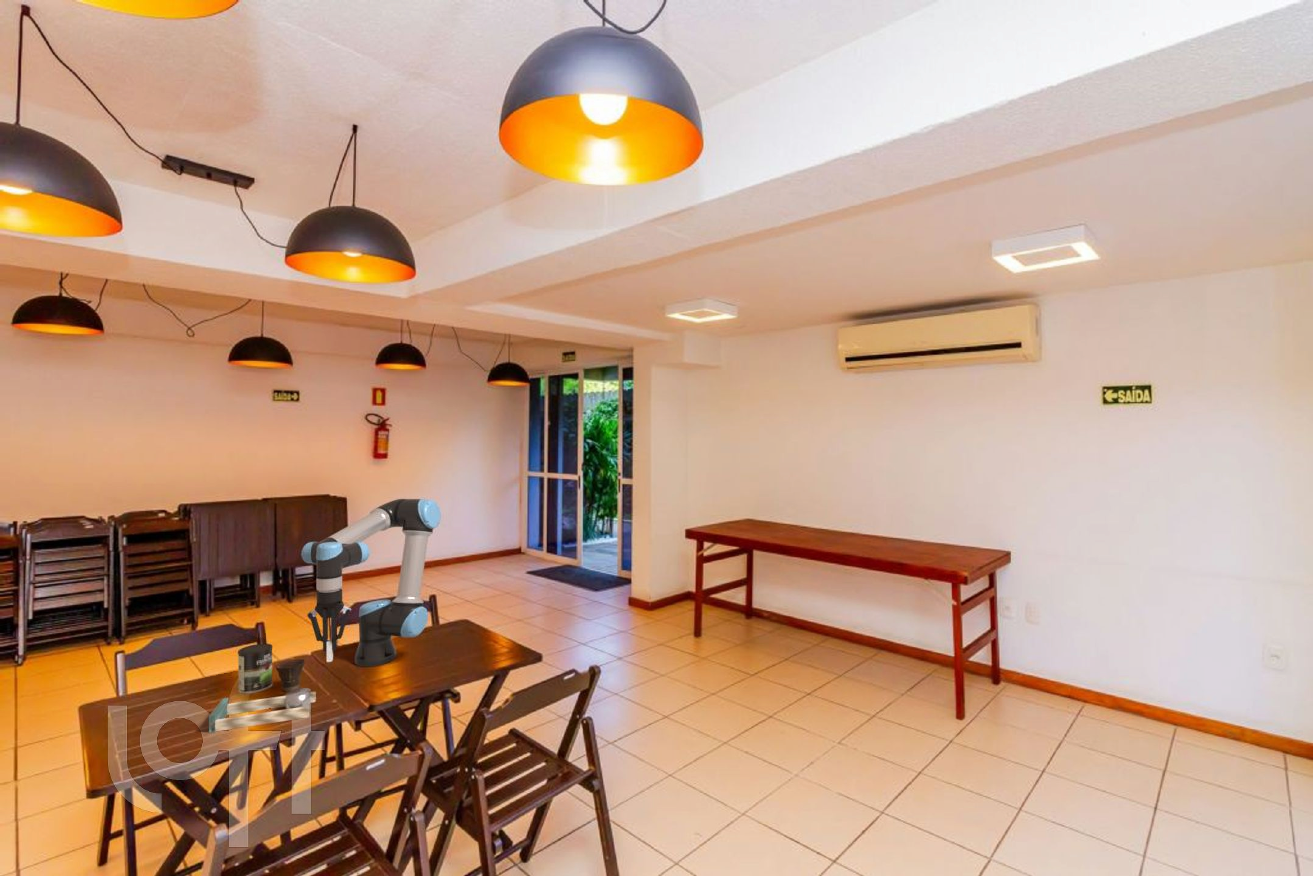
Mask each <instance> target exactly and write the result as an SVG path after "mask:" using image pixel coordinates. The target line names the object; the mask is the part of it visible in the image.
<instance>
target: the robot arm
mask: <svg viewBox="0 0 1313 876" xmlns="http://www.w3.org/2000/svg"><path fill="white" fill-rule="evenodd" d="M441 514H442V513H441V510H440V507H439V504H438V503H437V502H436V501H435V500H432V499H425V498H424V499H423V498H421V499H420V498H397V499H394V500H391V501H388V502H386V503H383V504H382V505H379V506H378V507H375V508H373V509H372V510H371V511H370V513H369V514H368V515H366V516H365V517H362V518H360V519H358V520H357V521H355V522H354V523H352V524H349V525H348V526H346V527H344V528H342V529H340V530H339V531H337V532H335V533H334V534H332V535H329V536H328V537H326V538H324V539H323V540H320V541H310V542H307V543H306V544H305V545H304V546H302V549H301V554H300V555H301V558H302V560H303V561H304V563H307V564H311V565H312V564H313V565H316V566H315V567H316V580H315V581H316V591H317V592H316V605H315V607H314V609H313V610H310V611H309V612H308V613H307V617H308V619H310V622H311V626H312V628H313V632H314V636H315V639H316V641H317V642H321V643H322V651H323V652H324V653H325V652H326V663H331V662H333V660H334V651H336V649H337V646H338V645H337V641H338V640H340V639H342V637H343V635H344V631H345V629H346V623H347V620H348V617H349V615H350V613H351V611H352V608H351V607H347V606H345V603H344V602H343V589H342V588H343V569H345V568H349V567H353V566H356V565H357V566H358V565H361V564H363V563H365V562H366V561H367V560H368V559H369V557H370V548H369V546H368V545H367V544H366V543H365V542H363V541H365V540H367V539H368V538H370V537H371V536H373V535H375V534H376V533H378V532H380V531H381V532H383V531H386V530H388V529H390V528H402V529H401V532H402V533H403V534H404V536H405V537H404V546H403V552H402V560H401V565H400V573H399V581H398V588H397V593H396V594H397V596H396V597H395V598H394V599H393V600H392V601H391V599H390V598H389V599H388V598H387V599H386V598H385V599H378V600H373V601H370V602H366V603H364V604H362V605H361V606H360V607H359V611H358V630H359V631H358V637H359V641H358V646H357V648H356V652H355V655H354V665H356V666H359V667H363V668H364V667H376V666H381V665H385V664H389V663H391V662H393V661H395V659H397V649H396V646H395V644H394V642H393V639H392V637H402V638H404V639H405V638H415V637H417V636H420V634H422V632H423V630H425V628H426V626H427V624H428V623H427V622H428V620H429V613H428V610H427V608H426V607H424V600H422V598H421V593H422V587H423V586H422V585H423V577H424V570H425V563H426V556H427V555H426V554H427V547H428V539H429V536H431V535H432V534H433V531H434V529H435V528H437V527H438V526H439V524H440V522H441V518H442V517H441V516H442V515H441ZM341 612H342V615H343V616H342V619H341V622H340V626H339V627H340V628H339V629H338V631H337V626H338V625H337V624H338V623H337V619H338V616H339V615H340V613H341ZM317 614H318V616H320V618H321V619H322V621H321V622H322V633H321V628H320V625H319V622H318V621H319V620H318V619H317ZM329 619H330V620H331V621H330V623H331V625H330V626H331V628H330V629H331V639H329ZM337 633H338V634H337Z"/></svg>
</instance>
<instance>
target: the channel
mask: <svg viewBox="0 0 1313 876" xmlns="http://www.w3.org/2000/svg"><path fill="white" fill-rule="evenodd" d="M316 695H317V692H316V691H311V703H315V702H317V701H316V700H317V698H316ZM284 707H285V709H280V710H273V711H266V712H257V713H252V712H256V711H263V710H270V709H269V708H271V709H278V708H284ZM250 712H251V713H252V714H245V715H240V716H239V715H237V716H232V717H227V716H228V715H235V714H241V713H242V714H243V713H250ZM307 718H310V710H309V706H306V707H299V708H292V709H286V695H282V696H275V697H273V696H272V697H268V698H266V697H265V698H260V699H252V700H246V701H238V702H232V703H229V697H224V698H222V699H221V700H220V702H219V703H218V704H217V705H216V707H215V708H214V709H213V710H212V712H211V713H210V714H209V716H208V728H209V729H208V732H209V733H215V732H221V731H227V730H228V731H229V730H234V729H240V728H248V727H255V726H260V725H269V724H273V723H279V722H286V721H292V720H298V719H299V720H300V719H307Z"/></svg>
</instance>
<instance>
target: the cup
mask: <svg viewBox="0 0 1313 876" xmlns="http://www.w3.org/2000/svg"><path fill="white" fill-rule="evenodd" d="M305 662H306V660H305V659H304V658H292V659H291V658H290V659H286V660H282V661H279V662H278V663H276V664H275V666H274V667H275V670H276V671H277V673H278V676H279V678H280V682H281V685H282V691H283V692H285V693H288V692H290V691H292V690H295V689H300V679H301V674H302V671H303V668H304V666H305Z"/></svg>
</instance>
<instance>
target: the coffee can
mask: <svg viewBox="0 0 1313 876" xmlns="http://www.w3.org/2000/svg"><path fill="white" fill-rule="evenodd" d="M237 654H238V655H237V659H238V661H237V663H238V693H240V694H243V695H245V694H247V695H248V694H255V693H260V692H262V691H265V690H268V689H270V688H271V687H272V686H273V684H274V683H273V645H272V644H270V643H257V644H251V645H248V646H247V645H246V646H244V647H242V648H240V649H238V651H237Z"/></svg>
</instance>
